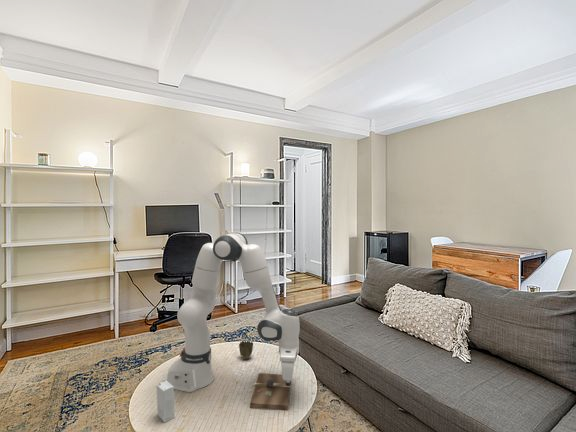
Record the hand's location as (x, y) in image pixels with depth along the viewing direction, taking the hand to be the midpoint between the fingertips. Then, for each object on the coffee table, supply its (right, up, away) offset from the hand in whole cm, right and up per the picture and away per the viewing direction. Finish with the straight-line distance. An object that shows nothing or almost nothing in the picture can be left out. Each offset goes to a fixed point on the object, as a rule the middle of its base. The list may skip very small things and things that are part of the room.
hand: (288, 379), depth 134 cm
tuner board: (-7, -6, 0) cm, 9 cm away
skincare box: (-47, -6, -17) cm, 50 cm away
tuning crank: (-7, -3, +1) cm, 8 cm away
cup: (-22, -4, +29) cm, 37 cm away
